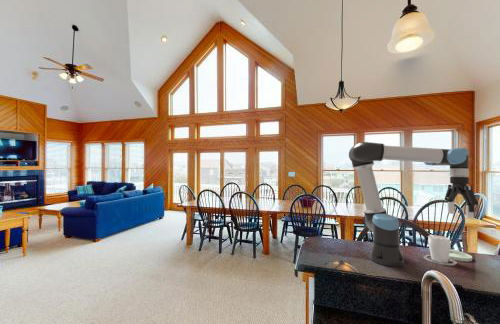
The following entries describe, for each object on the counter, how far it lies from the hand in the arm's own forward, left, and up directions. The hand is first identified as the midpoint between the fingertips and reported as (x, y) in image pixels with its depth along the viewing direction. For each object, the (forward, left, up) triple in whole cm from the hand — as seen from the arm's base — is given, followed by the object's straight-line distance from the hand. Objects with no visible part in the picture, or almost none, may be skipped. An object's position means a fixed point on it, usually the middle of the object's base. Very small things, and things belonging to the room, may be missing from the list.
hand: (460, 215), depth 117 cm
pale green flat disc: (0, +4, -23) cm, 24 cm away
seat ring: (-12, -4, -23) cm, 27 cm away
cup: (-12, -4, -23) cm, 27 cm away
